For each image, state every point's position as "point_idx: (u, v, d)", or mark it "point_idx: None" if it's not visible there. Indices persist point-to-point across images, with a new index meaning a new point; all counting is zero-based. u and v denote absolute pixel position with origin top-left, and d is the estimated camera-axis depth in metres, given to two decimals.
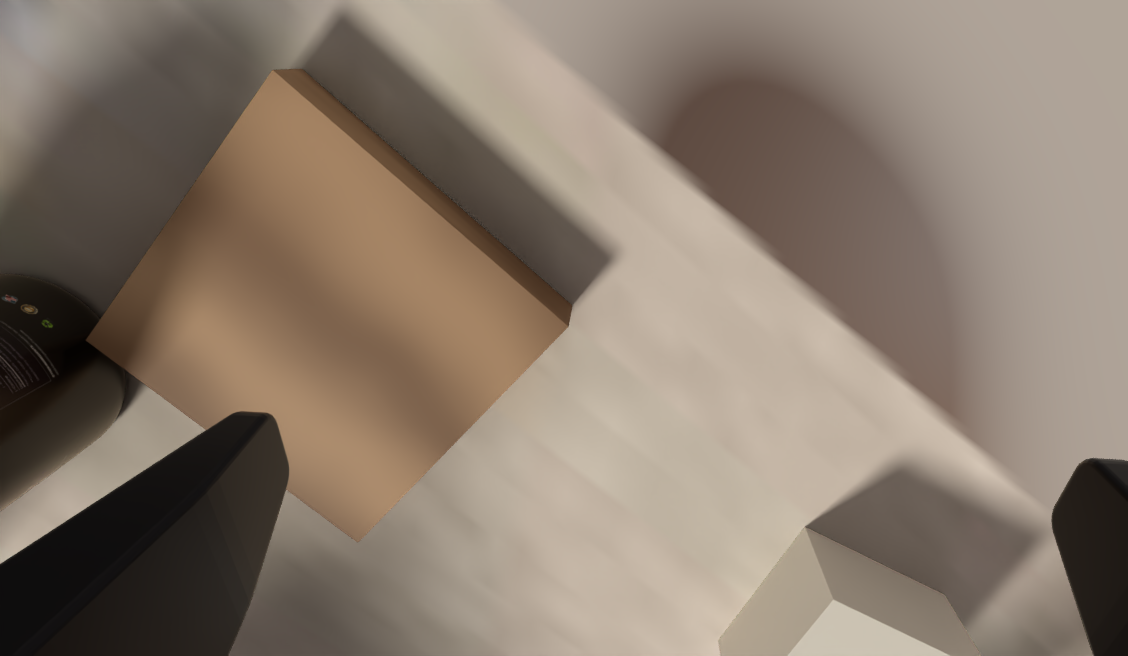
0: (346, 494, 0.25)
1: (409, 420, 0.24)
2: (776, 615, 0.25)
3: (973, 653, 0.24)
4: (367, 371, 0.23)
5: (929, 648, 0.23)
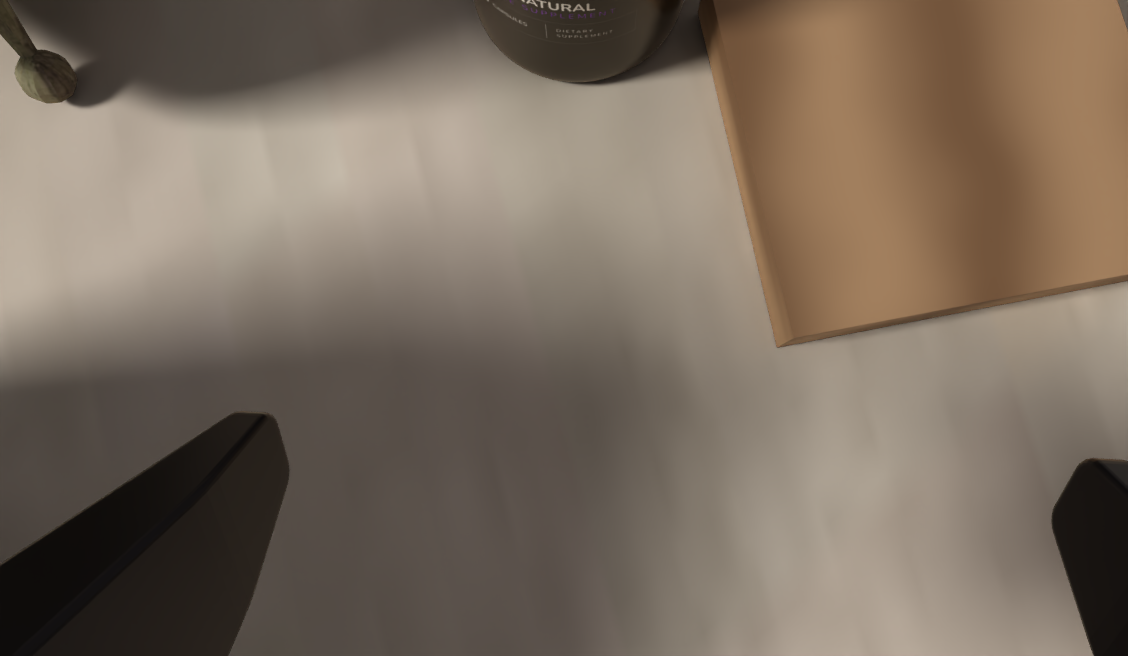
0: (829, 277, 0.20)
1: (965, 245, 0.20)
2: None
3: None
4: (960, 171, 0.20)
5: None
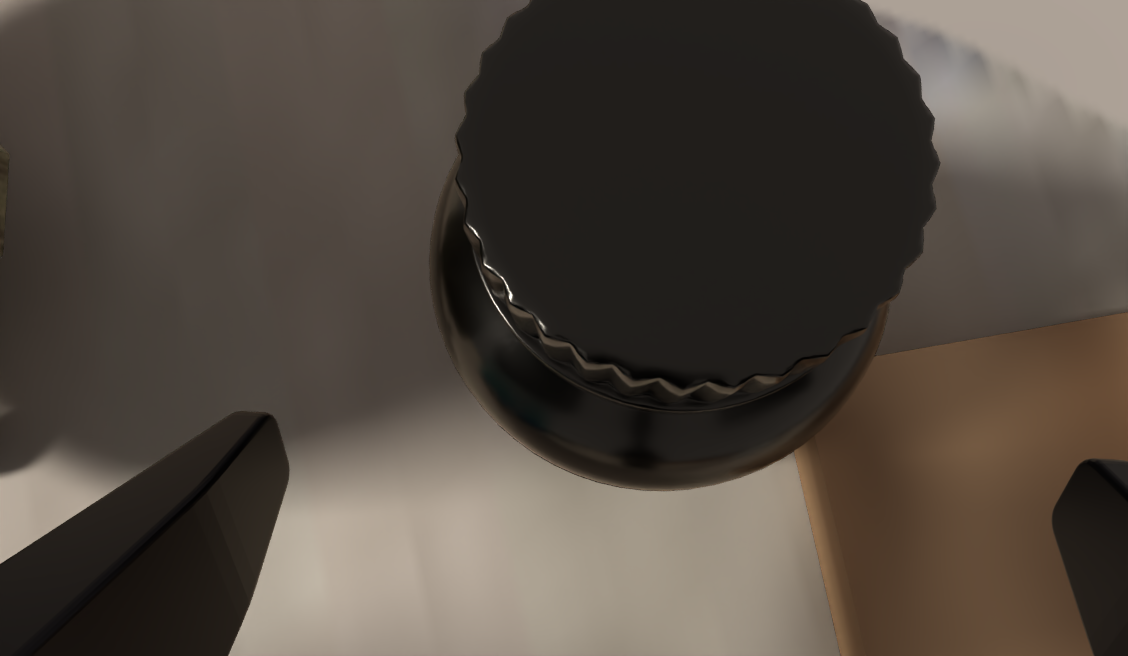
0: None
1: None
2: None
3: None
4: None
5: None
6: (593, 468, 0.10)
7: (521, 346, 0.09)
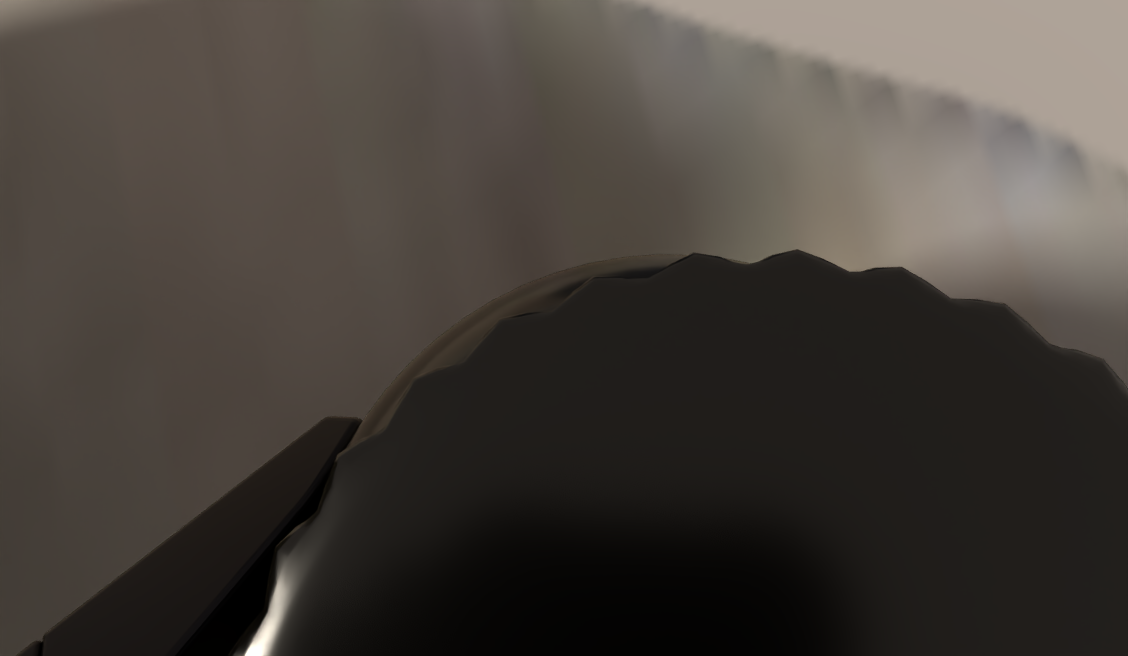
0: None
1: None
2: None
3: None
4: None
5: None
6: None
7: None
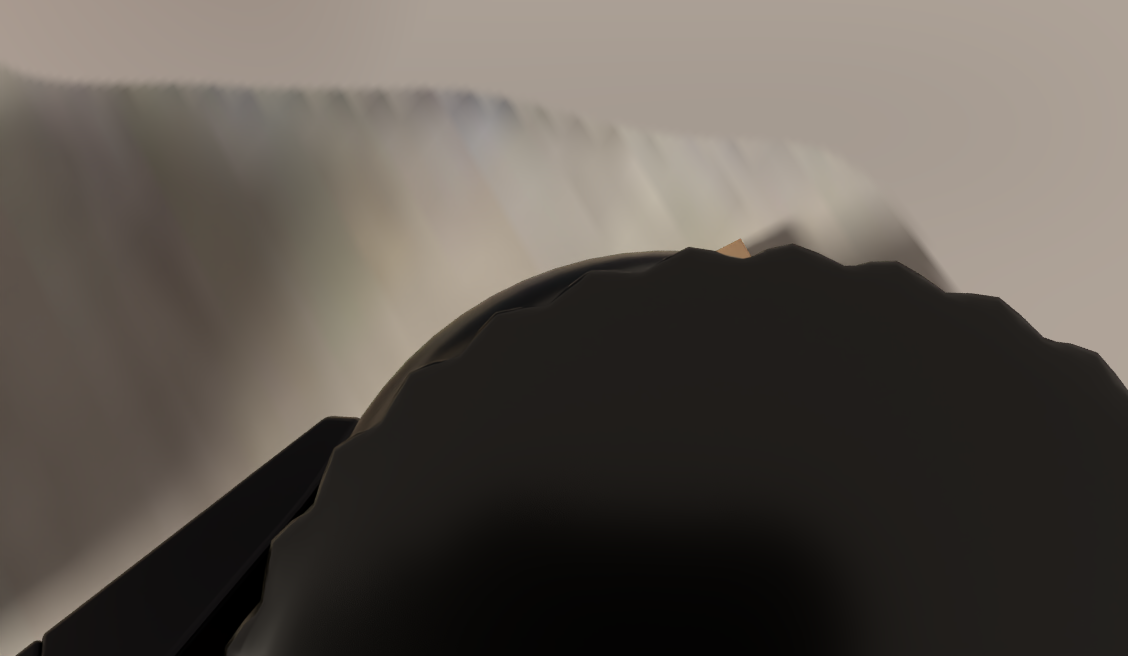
0: None
1: None
2: None
3: None
4: None
5: None
6: None
7: None
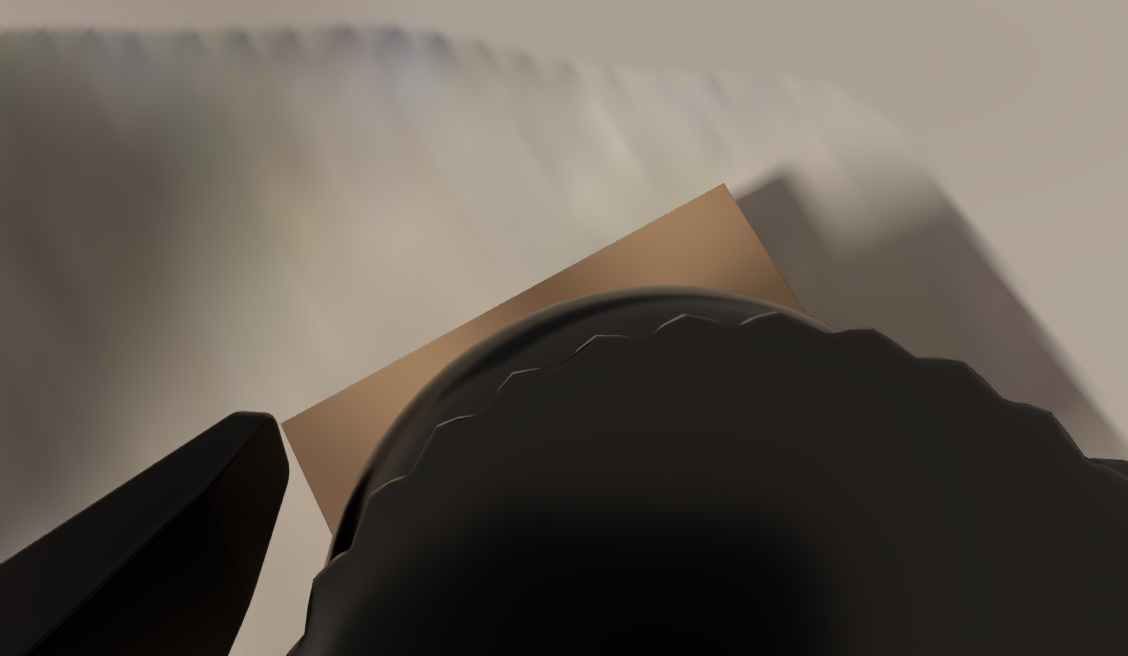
0: None
1: None
2: None
3: None
4: None
5: None
6: None
7: None
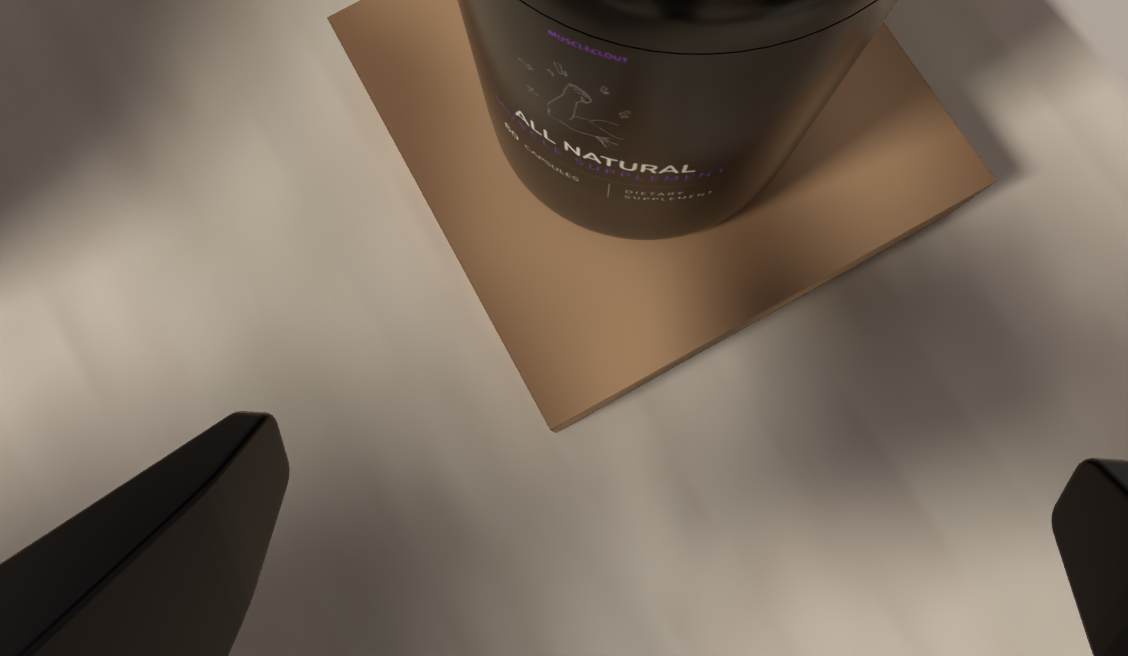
0: (571, 340, 0.16)
1: (720, 251, 0.16)
2: None
3: None
4: None
5: None
6: None
7: None
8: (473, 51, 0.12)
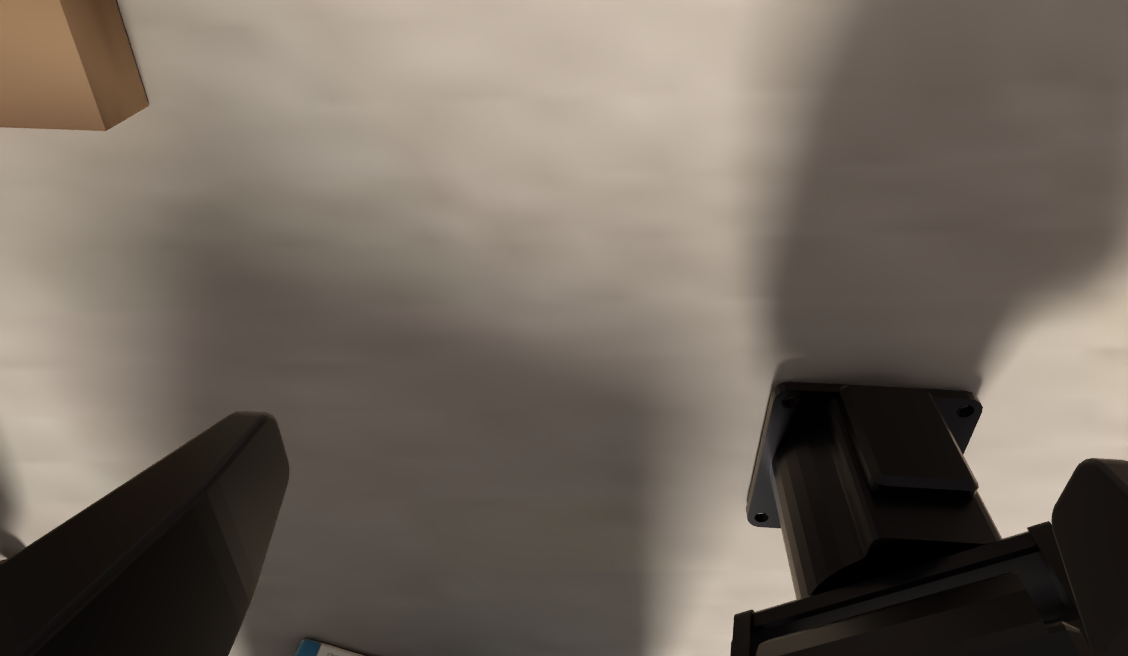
0: (29, 75, 0.18)
1: None
2: None
3: None
4: None
5: None
6: None
7: None
8: None
